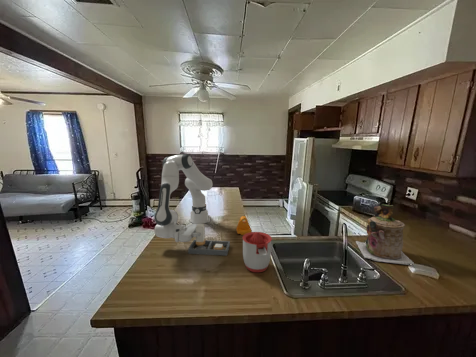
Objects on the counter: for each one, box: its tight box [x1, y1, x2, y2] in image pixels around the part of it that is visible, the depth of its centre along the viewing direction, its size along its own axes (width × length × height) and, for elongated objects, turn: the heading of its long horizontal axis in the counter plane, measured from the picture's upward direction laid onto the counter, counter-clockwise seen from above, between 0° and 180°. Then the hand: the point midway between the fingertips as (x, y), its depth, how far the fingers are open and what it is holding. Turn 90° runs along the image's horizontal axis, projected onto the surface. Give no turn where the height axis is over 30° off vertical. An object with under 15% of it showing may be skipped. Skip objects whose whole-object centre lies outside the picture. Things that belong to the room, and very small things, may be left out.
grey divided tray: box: [187, 239, 231, 257], centre depth 135 cm, size 13×24×3 cm, turn 85°
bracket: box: [235, 215, 253, 236], centre depth 161 cm, size 11×7×12 cm, turn 98°
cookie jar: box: [355, 203, 415, 266], centre depth 129 cm, size 25×25×32 cm
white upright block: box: [195, 223, 206, 247], centre depth 134 cm, size 6×6×12 cm
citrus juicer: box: [242, 231, 273, 273], centre depth 114 cm, size 16×17×20 cm
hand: (201, 232), depth 134 cm, fingers closed on white upright block, 4 cm apart
